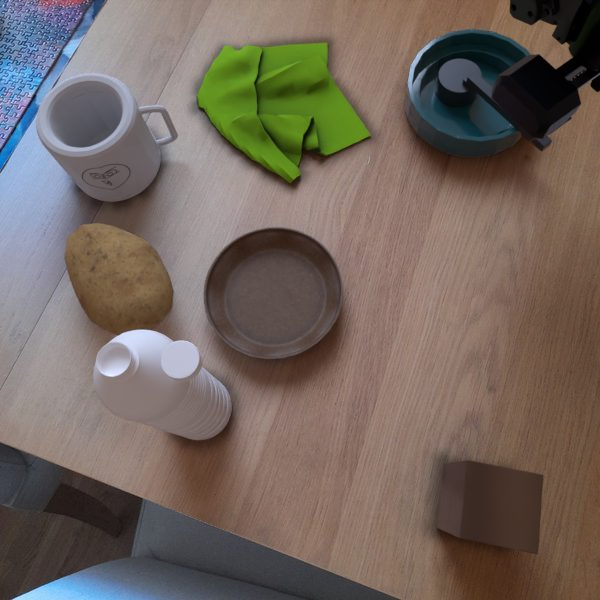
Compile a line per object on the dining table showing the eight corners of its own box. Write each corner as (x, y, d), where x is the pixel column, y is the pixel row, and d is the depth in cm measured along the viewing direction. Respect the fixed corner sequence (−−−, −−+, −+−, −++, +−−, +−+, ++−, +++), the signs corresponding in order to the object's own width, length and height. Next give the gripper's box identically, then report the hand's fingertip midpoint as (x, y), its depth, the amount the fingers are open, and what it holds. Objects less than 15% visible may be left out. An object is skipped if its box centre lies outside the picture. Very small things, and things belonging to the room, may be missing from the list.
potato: (130, 222, 66) (103, 188, 58) (204, 307, 62) (186, 283, 55) (62, 275, 64) (25, 248, 57) (134, 366, 61) (106, 349, 53)
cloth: (207, 39, 74) (203, 24, 71) (377, 45, 72) (378, 31, 69) (182, 178, 67) (177, 167, 65) (367, 188, 66) (368, 178, 63)
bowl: (536, 61, 70) (548, 37, 66) (527, 168, 65) (539, 149, 61) (412, 47, 71) (417, 22, 68) (395, 150, 67) (399, 131, 63)
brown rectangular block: (505, 475, 55) (543, 474, 45) (500, 541, 54) (538, 554, 44) (443, 463, 56) (467, 459, 46) (436, 527, 54) (459, 538, 44)
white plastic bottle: (168, 440, 58) (53, 410, 34) (173, 377, 60) (69, 308, 36) (252, 441, 58) (195, 412, 34) (255, 378, 60) (203, 308, 36)
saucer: (200, 250, 64) (194, 240, 62) (327, 224, 65) (326, 214, 62) (219, 376, 60) (213, 372, 57) (355, 348, 60) (356, 342, 57)
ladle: (426, 87, 69) (431, 64, 65) (458, 65, 69) (464, 41, 66) (520, 175, 64) (530, 156, 60) (553, 151, 64) (565, 130, 61)
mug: (79, 212, 67) (37, 168, 57) (70, 136, 70) (29, 82, 61) (191, 187, 67) (167, 138, 57) (177, 112, 70) (153, 54, 61)
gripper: (651, -141, 45) (571, 14, 60) (470, -23, 42) (434, 108, 57) (766, -58, 42) (652, 83, 56) (578, 74, 39) (510, 186, 54)
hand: (560, 112), depth 56 cm, fingers open, 9 cm apart
